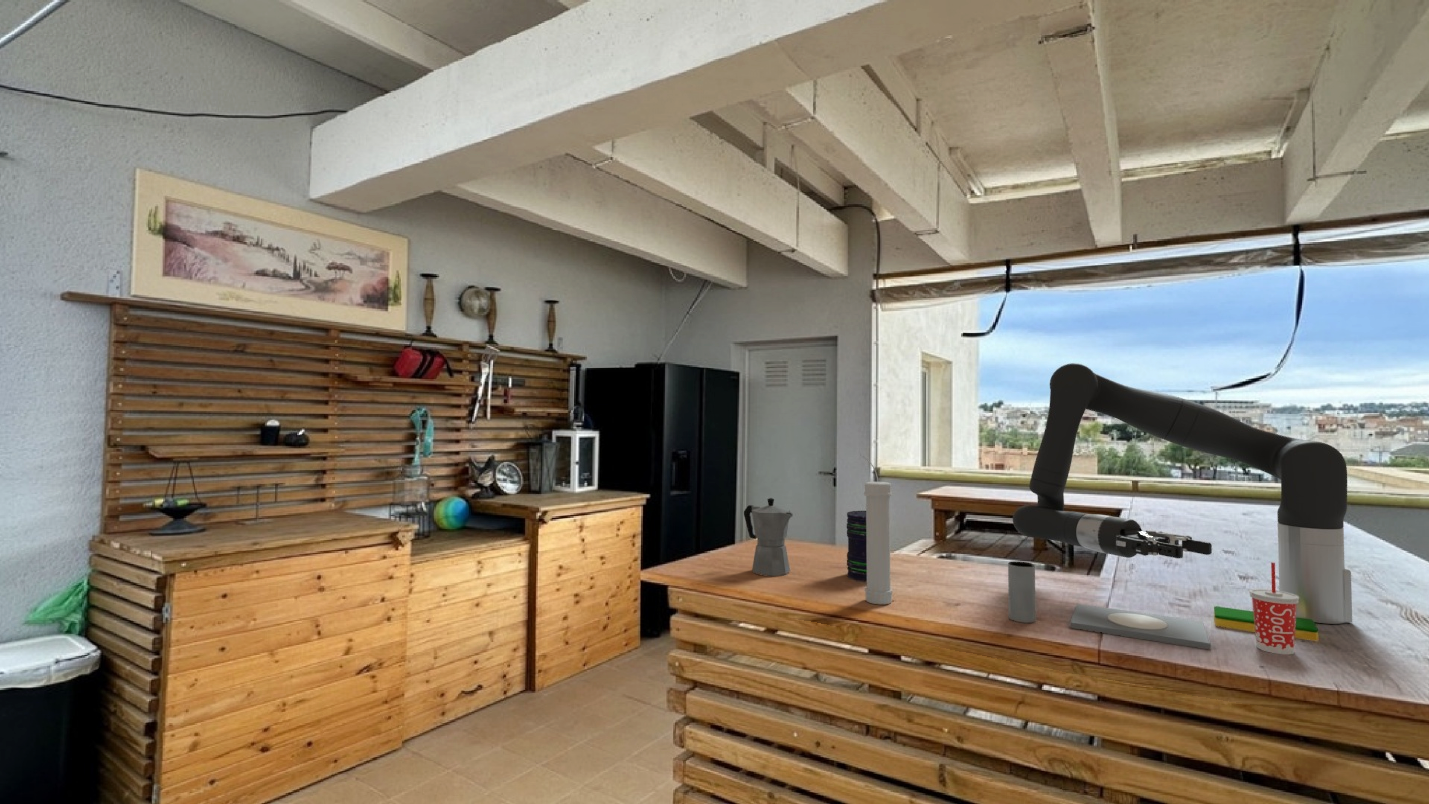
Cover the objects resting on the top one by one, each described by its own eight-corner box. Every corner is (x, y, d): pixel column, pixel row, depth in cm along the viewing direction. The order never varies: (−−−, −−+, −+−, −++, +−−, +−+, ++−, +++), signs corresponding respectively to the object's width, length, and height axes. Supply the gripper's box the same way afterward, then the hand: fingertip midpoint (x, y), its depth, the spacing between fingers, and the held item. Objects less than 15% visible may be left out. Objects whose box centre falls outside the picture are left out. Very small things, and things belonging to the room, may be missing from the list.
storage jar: (895, 575, 155) (894, 512, 156) (882, 584, 147) (881, 517, 147) (855, 570, 161) (854, 509, 161) (840, 578, 152) (840, 514, 153)
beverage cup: (1249, 649, 105) (1247, 562, 106) (1251, 640, 110) (1250, 557, 110) (1300, 659, 101) (1297, 568, 101) (1300, 649, 106) (1298, 562, 106)
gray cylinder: (1024, 624, 118) (1024, 567, 118) (1003, 617, 122) (1002, 562, 122) (1041, 620, 120) (1040, 565, 120) (1019, 614, 124) (1018, 560, 124)
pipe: (893, 606, 130) (892, 455, 131) (861, 604, 131) (860, 455, 132) (891, 598, 135) (890, 454, 136) (860, 596, 136) (860, 454, 137)
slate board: (1203, 626, 117) (1203, 619, 117) (1210, 649, 105) (1210, 642, 105) (1076, 608, 128) (1076, 602, 128) (1070, 627, 116) (1070, 621, 116)
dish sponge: (1214, 618, 123) (1213, 605, 123) (1312, 632, 115) (1312, 619, 115) (1215, 628, 117) (1214, 614, 117) (1318, 644, 109) (1318, 629, 109)
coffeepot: (804, 573, 157) (804, 498, 158) (779, 580, 151) (779, 502, 151) (757, 563, 168) (756, 493, 169) (731, 569, 162) (731, 496, 162)
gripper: (1085, 517, 128) (1172, 532, 113) (1131, 514, 134) (1219, 527, 119) (1084, 556, 128) (1172, 575, 113) (1131, 550, 134) (1219, 568, 119)
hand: (1196, 550), depth 116 cm, fingers open, 8 cm apart
